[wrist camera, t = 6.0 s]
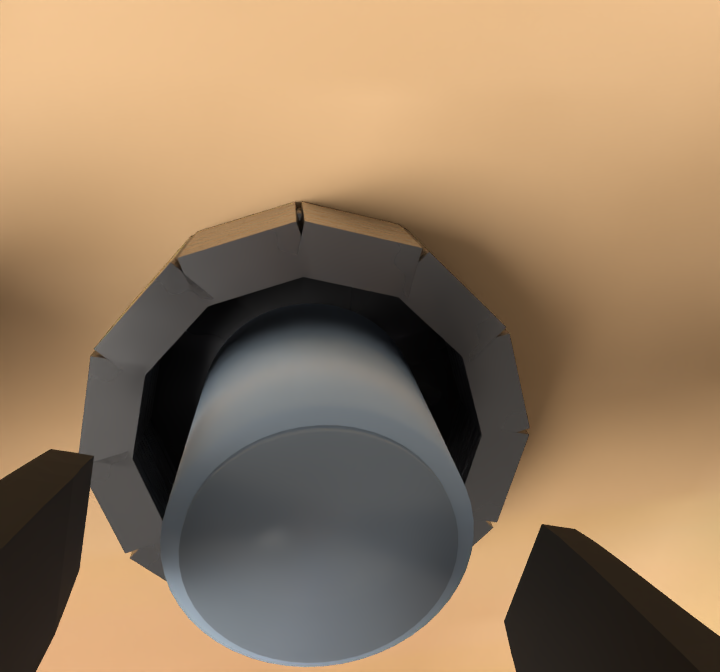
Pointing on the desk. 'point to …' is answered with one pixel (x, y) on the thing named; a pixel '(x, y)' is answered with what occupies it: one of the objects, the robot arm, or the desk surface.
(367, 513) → the cap
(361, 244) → the dark grey ring
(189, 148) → the desk surface
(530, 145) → the desk surface
